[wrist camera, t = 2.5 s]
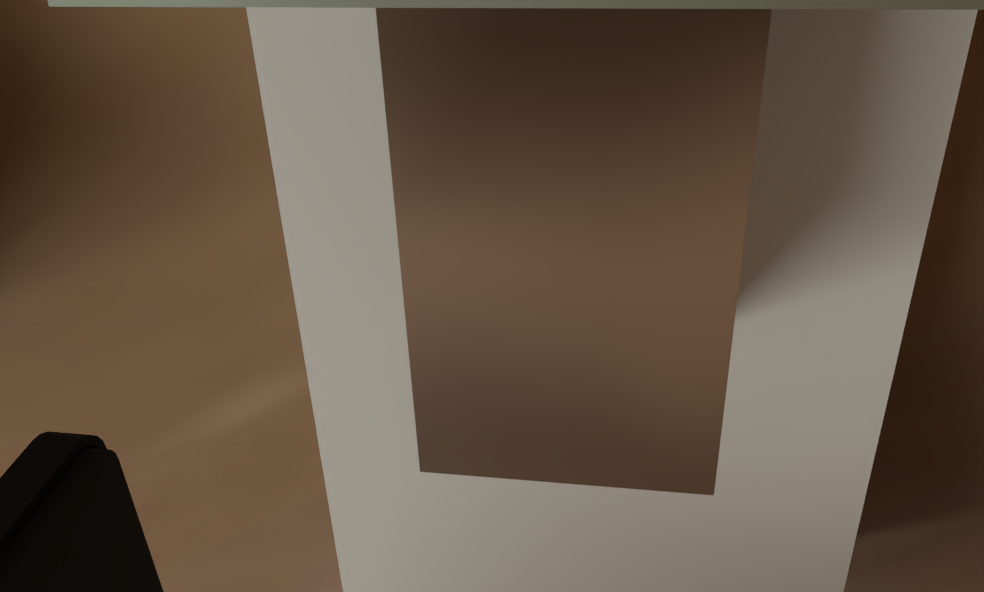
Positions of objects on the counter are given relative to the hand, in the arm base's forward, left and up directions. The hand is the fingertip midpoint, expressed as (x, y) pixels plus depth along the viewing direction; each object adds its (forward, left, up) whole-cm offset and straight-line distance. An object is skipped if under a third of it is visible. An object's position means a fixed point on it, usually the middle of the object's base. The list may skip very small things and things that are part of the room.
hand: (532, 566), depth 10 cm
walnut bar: (+4, 0, -10) cm, 11 cm away
